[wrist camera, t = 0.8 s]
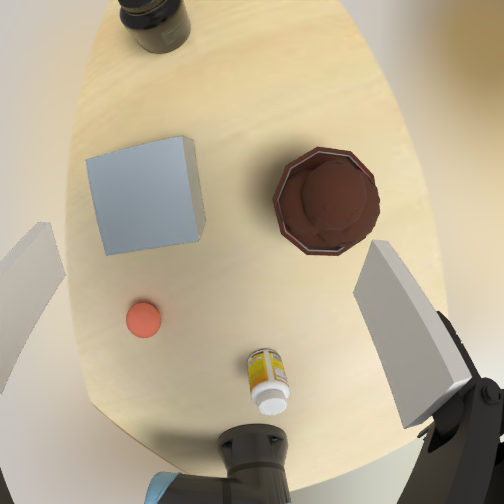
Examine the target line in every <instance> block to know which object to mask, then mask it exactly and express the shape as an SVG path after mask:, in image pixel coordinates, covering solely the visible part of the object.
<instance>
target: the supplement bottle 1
mask: <svg viewBox="0 0 504 504" xmlns="http://www.w3.org/2000/svg"><path fill="white" fill-rule="evenodd" d="M118 2H119V3H120V5H121V9H120V19H121V22H122V23H123V25H124V26H125V27H126V28H127V30H128V31H129V32H130V33H131V34H132V35H133V36H134V38H135V39H136V40H137V41H138V42H139V43H140V45H141V46H142V47H143V48H145V49H146V50H148V51H150V52H153V53H165V52H169V51H172V50H174V49H176V48H177V47H179V46H180V45H181V44H183V43H184V42H185V40H186V39H187V37H188V35H189V33H190V21H189V18H188V14H187V11H186V8H185V4H184V1H183V0H118Z"/></svg>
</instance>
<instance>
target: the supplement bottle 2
mask: <svg viewBox="0 0 504 504" xmlns="http://www.w3.org/2000/svg"><path fill="white" fill-rule="evenodd" d="M247 366H248V375H249V384H250V392H251V398H252V401H253V402H254V403H255V404H256V405H258V409H259V411H260V412H261V413H262V414H264V415H276V414H279V413H281V412H283V411H284V410H285V409H286V407H287V402H286V400H287V399H288V397H289V394H290V390H289V386H288V382H287V378H286V375H285V371H284V367H283V364H282V360H281V357H280V355H279V354H278V353H276V352H275V351H272V350H259V351H257V352H255V353H253V354H252V355H251V356H250V357H249V359H248V363H247Z"/></svg>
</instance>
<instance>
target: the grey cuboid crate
mask: <svg viewBox="0 0 504 504" xmlns="http://www.w3.org/2000/svg"><path fill="white" fill-rule="evenodd" d="M86 165H87V171H88V177H89V183H90V188H91V194H92V199H93V203H94V208H95V213H96V217H97V221H98V226H99V230H100V234H101V238H102V242H103V245H104V249H105V253H106V256H108V255H114V254H120V253H127V252H133V251H139V250H145V249H151V248H157V247H164V246H170V245H176V244H183V243H189V242H196V241H199V240H200V237H201V233H202V230H203V227H204V224H205V221H206V219H205V213H204V207H203V200H202V194H201V188H200V181H199V175H198V168H197V162H196V155H195V148H194V140H191V139H189V138H186V137H184V136H178V137H173V138H168V139H163V140H159V141H154V142H150V143H146V144H141V145H137V146H133V147H129V148H125V149H122V150H118V151H114V152H111V153H107V154H104V155H100V156H97V157H94V158H90V159H87V160H86Z"/></svg>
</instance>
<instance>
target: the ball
mask: <svg viewBox="0 0 504 504" xmlns="http://www.w3.org/2000/svg"><path fill="white" fill-rule="evenodd" d="M126 323H127V327H128V329H129V330H130V332H131V333H132V334H134V335H135V336H137V337H140V338H149V337H151V336H153V335H155V334H156V333H157V331H158V330H159V328H160V324H161V318H160V315H159V313H158V311H157V309H156V308H155V307H153V306H152V305H150V304H148V303H138V304H135V305H134V306H132V307H131V308H130V309H129V311H128V313H127V316H126Z"/></svg>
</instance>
